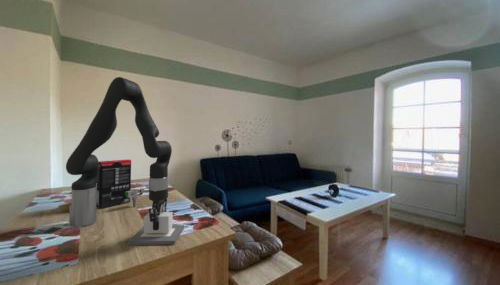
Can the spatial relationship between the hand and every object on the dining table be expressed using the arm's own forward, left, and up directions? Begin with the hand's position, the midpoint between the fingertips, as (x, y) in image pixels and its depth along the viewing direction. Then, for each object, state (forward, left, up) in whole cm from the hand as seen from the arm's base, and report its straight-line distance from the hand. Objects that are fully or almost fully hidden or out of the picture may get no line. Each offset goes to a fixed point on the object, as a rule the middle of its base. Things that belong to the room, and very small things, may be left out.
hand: (158, 226), depth 87 cm
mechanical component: (-28, +36, -4) cm, 46 cm away
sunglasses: (-61, +35, -5) cm, 70 cm away
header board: (0, 0, -4) cm, 4 cm away
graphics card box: (-42, +40, -4) cm, 58 cm away
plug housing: (0, 0, -2) cm, 2 cm away
